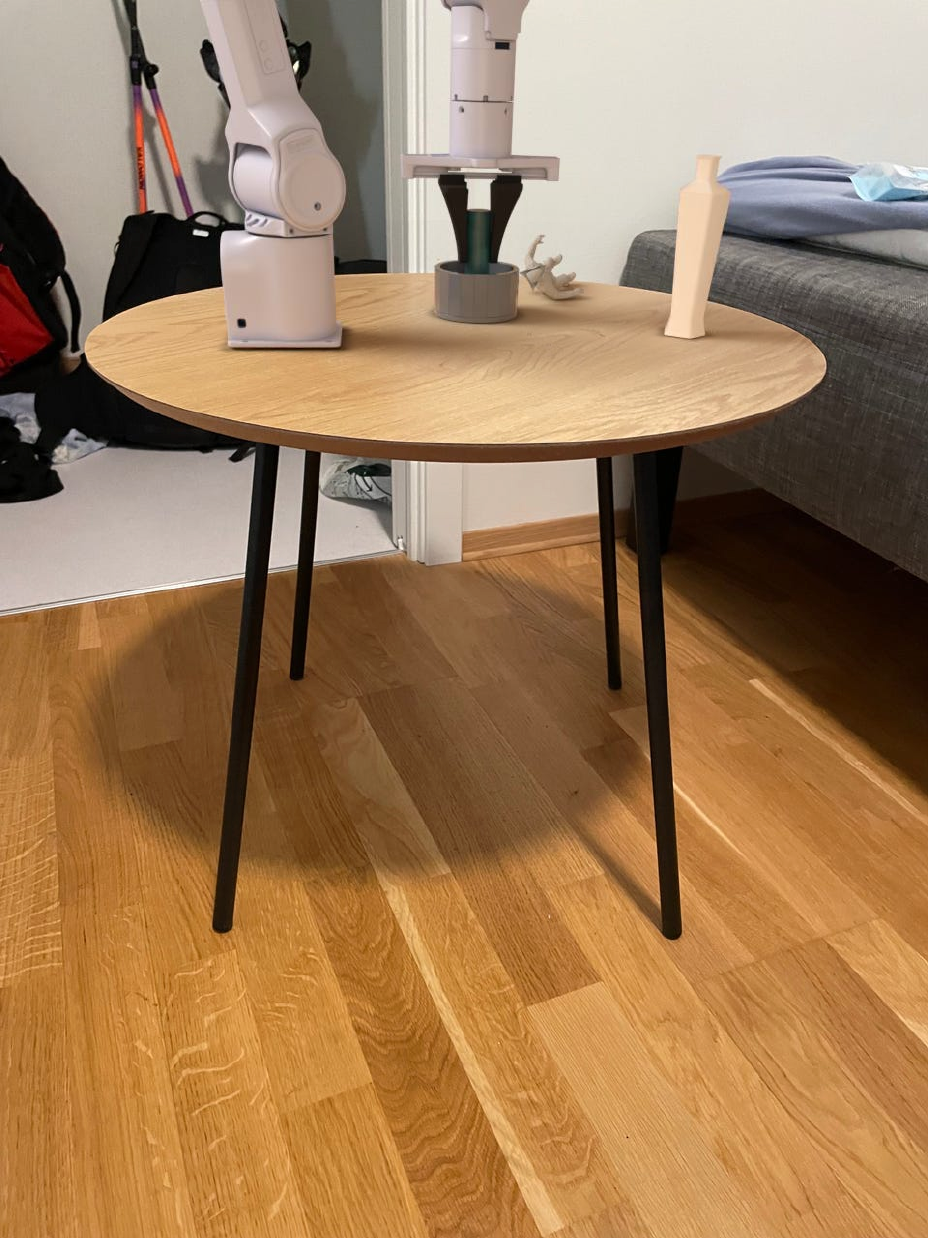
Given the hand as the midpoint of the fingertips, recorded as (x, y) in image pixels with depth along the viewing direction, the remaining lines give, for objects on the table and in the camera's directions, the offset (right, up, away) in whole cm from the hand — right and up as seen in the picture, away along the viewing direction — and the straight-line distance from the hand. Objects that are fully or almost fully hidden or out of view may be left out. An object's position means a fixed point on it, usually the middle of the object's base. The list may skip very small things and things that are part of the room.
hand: (477, 261), depth 90 cm
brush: (0, -4, +2) cm, 4 cm away
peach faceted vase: (+20, -8, -3) cm, 21 cm away
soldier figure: (+8, +1, +12) cm, 14 cm away
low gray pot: (0, -4, +2) cm, 5 cm away
